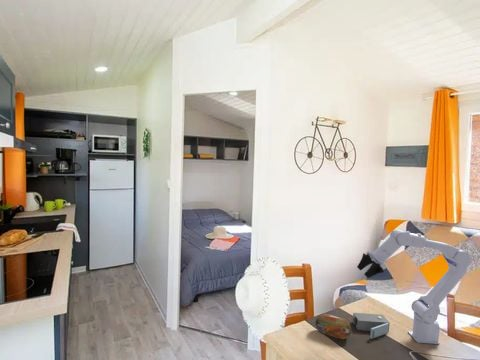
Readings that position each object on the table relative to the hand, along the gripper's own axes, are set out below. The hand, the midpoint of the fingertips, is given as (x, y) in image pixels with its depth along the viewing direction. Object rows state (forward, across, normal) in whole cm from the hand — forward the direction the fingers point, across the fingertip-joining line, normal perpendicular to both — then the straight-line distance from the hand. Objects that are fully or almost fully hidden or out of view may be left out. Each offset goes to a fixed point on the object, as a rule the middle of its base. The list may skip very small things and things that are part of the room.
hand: (362, 272), depth 128 cm
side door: (+15, +3, +26) cm, 30 cm away
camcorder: (+16, -4, +26) cm, 30 cm away
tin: (+29, +3, +10) cm, 31 cm away
